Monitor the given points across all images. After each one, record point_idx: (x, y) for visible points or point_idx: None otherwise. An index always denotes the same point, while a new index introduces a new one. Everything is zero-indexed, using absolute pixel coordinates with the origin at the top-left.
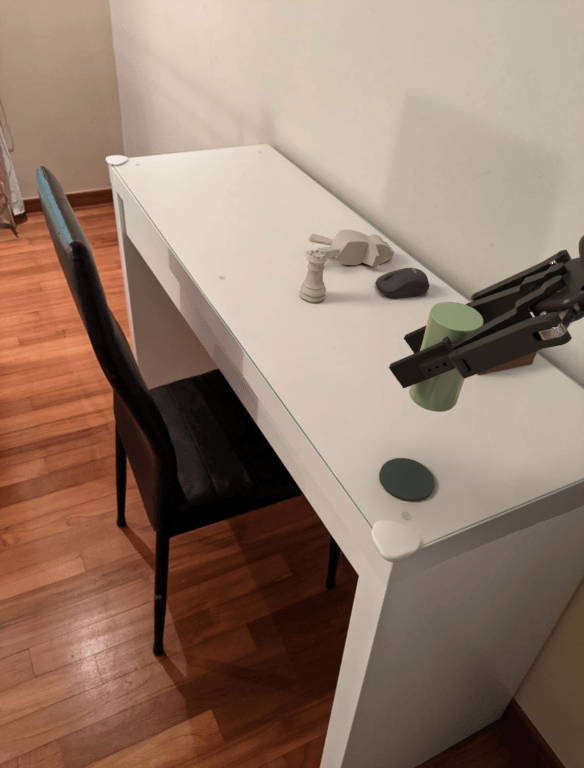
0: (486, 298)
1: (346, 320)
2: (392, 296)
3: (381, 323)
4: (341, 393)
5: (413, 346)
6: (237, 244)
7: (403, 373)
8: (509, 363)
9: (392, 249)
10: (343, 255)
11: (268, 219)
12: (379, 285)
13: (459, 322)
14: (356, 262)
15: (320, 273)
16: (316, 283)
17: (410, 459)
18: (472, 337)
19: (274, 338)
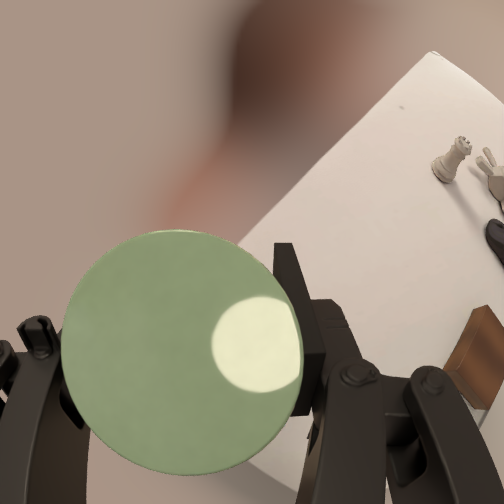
0: (365, 466)
1: (438, 210)
2: (488, 241)
3: (456, 244)
4: (333, 241)
5: (273, 274)
6: (441, 110)
7: None
8: (465, 393)
9: None
10: (493, 180)
11: (478, 126)
12: (490, 223)
13: (109, 370)
14: (497, 196)
15: (456, 159)
16: (448, 163)
17: None
18: (5, 406)
19: (367, 158)
